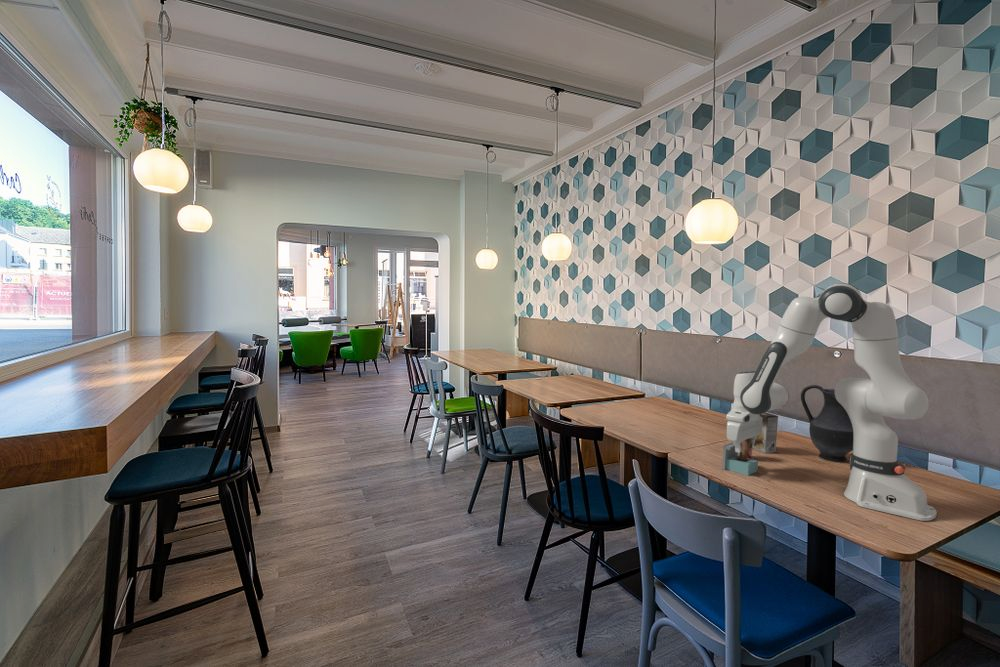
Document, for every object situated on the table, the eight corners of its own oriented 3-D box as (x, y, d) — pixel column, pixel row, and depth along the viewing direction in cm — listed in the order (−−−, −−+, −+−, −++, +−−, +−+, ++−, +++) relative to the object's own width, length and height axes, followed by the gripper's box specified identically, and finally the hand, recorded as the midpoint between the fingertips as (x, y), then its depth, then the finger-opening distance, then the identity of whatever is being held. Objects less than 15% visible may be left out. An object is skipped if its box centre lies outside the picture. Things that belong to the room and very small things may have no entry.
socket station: (758, 470, 177) (759, 447, 176) (746, 476, 170) (747, 451, 170) (734, 464, 184) (735, 441, 183) (722, 469, 177) (723, 445, 177)
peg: (746, 465, 176) (753, 440, 179) (743, 462, 175) (750, 437, 177) (739, 463, 178) (746, 438, 181) (736, 461, 177) (743, 436, 179)
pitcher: (860, 468, 182) (866, 392, 180) (797, 458, 192) (801, 386, 191) (855, 457, 196) (860, 386, 195) (796, 448, 207) (800, 381, 205)
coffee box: (747, 447, 207) (749, 411, 206) (759, 446, 209) (761, 410, 208) (764, 453, 199) (766, 415, 198) (776, 452, 200) (778, 415, 200)
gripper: (750, 408, 185) (749, 442, 185) (723, 415, 172) (722, 452, 173) (767, 411, 180) (766, 446, 180) (741, 419, 167) (739, 457, 168)
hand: (744, 449), depth 177 cm, fingers open, 8 cm apart
